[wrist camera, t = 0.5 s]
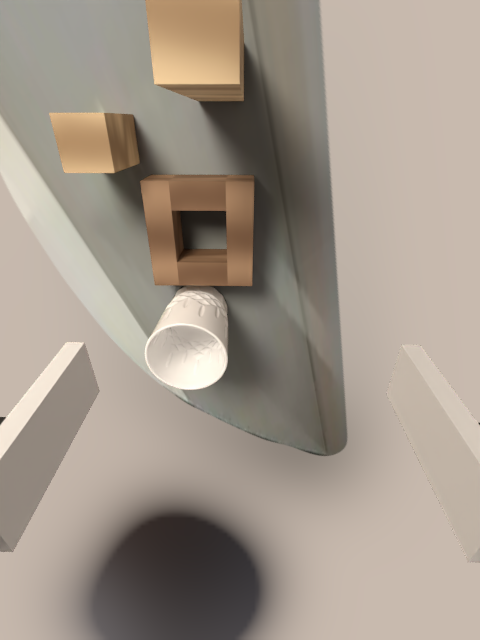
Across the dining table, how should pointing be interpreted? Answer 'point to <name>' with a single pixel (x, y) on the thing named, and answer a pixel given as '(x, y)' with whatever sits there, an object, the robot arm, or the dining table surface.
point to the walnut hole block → (166, 231)
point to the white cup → (190, 339)
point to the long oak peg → (198, 47)
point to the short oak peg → (95, 141)
